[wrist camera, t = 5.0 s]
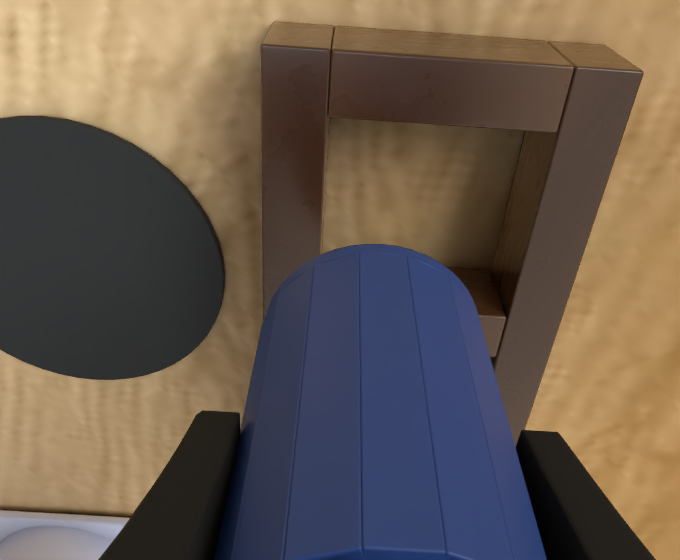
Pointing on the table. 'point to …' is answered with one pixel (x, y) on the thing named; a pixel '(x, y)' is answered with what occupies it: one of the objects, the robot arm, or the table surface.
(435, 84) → the bottle rack
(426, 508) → the blue bottle
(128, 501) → the table surface
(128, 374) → the coaster
